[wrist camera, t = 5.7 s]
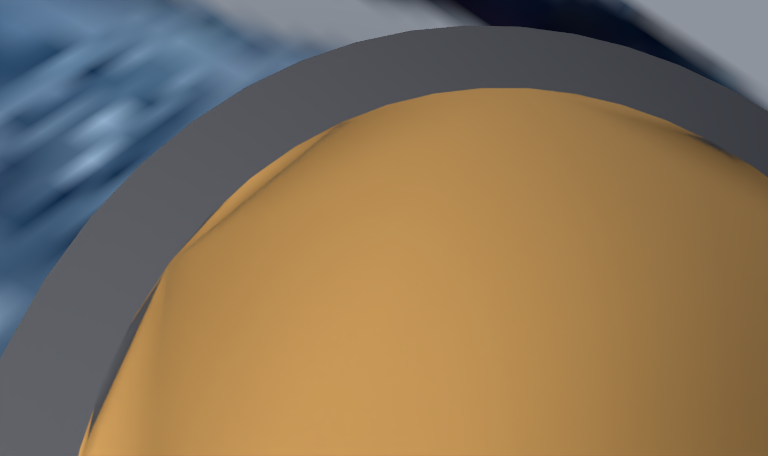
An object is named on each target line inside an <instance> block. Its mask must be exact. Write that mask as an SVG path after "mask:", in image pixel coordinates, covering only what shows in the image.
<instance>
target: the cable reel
mask: <svg viewBox="0 0 768 456" xmlns="http://www.w3.org/2000/svg"><path fill="white" fill-rule="evenodd" d="M0 456H768V111H766V110H764V109H763V108H761V107H759V106H757V105H756V104H754V103H752V102H751V101H749V100H747V99H746V98H744V97H742V96H741V95H739V94H737V93H735V92H734V91H732V90H730V89H728V88H726V87H724V86H722V85H720V84H718V83H716V82H714V81H711V80H709V79H707V78H705V77H703V76H701V75H699V74H697V73H694V72H692V71H690V70H688V69H686V68H684V67H682V66H679V65H677V64H674V63H671V62H668V61H666V60H663V59H660V58H657V57H654V56H651V55H649V54H646V53H643V52H640V51H637V50H634V49H632V48H629V47H625V46H621V45H617V44H613V43H609V42H605V41H601V40H597V39H592V38H588V37H584V36H580V35H576V34H570V33H562V32H555V31H547V30H540V29H532V28H525V27H501V26H458V27H447V28H436V29H425V30H414V31H408V32H403V33H398V34H394V35H389V36H384V37H379V38H374V39H369V40H365V41H360V42H356V43H353V44H350V45H347V46H344V47H341V48H338V49H335V50H332V51H329V52H326V53H323V54H320V55H317V56H314V57H311V58H308V59H305V60H302V61H300V62H298V63H296V64H294V65H291V66H289V67H287V68H285V69H283V70H281V71H279V72H277V73H275V74H273V75H271V76H268V77H266V78H264V79H262V80H260V81H258V82H256V83H254V84H252V85H250V86H248V87H246V88H244V89H243V90H241V91H239V92H238V93H236V94H235V95H233V96H232V97H230V98H228V99H227V100H225V101H224V102H222V103H221V104H219V105H218V106H216V107H214V108H213V109H211V110H210V111H208V112H207V113H205V114H203V115H202V116H200V117H199V118H197V119H196V120H194V121H193V122H191V123H190V124H189V125H188V126H186V127H185V128H184V129H183V130H182V131H180V132H179V133H178V134H177V135H176V136H174V137H173V138H172V139H171V140H170V141H168V142H167V143H166V144H165V145H163V146H162V147H161V148H160V149H159V150H157V151H156V152H155V153H154V154H153V155H151V156H150V157H149V158H148V159H147V160H145V161H144V162H143V163H142V164H141V165H140V166H139V167H138V168H137V169H136V170H135V171H134V172H133V173H132V174H131V175H130V176H129V177H128V178H127V179H126V180H125V181H124V182H123V184H122V185H121V186H120V187H119V188H118V189H117V190H116V191H115V192H114V193H113V194H112V195H111V196H110V197H109V198H108V199H107V200H106V202H105V203H104V204H103V205H102V206H101V207H100V208H99V209H98V210H97V211H96V212H95V213H94V214H93V215H92V216H91V217H90V219H89V220H88V221H87V223H86V224H85V226H84V227H83V228H82V230H81V231H80V232H79V234H78V235H77V236H76V238H75V239H74V240H73V242H72V243H71V245H70V246H69V247H68V249H67V250H66V251H65V253H64V254H63V255H62V257H61V258H60V259H59V261H58V262H57V264H56V265H55V266H54V268H53V269H52V270H51V272H50V273H49V274H48V276H47V277H46V278H45V280H44V282H43V283H42V285H41V287H40V289H39V290H38V292H37V294H36V296H35V297H34V299H33V301H32V303H31V305H30V306H29V308H28V310H27V312H26V313H25V315H24V317H23V319H22V321H21V322H20V324H19V326H18V328H17V329H16V331H15V333H14V335H13V336H12V338H11V340H10V342H9V344H8V345H7V347H6V349H5V351H4V352H3V354H2V357H1V359H0Z"/></svg>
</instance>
